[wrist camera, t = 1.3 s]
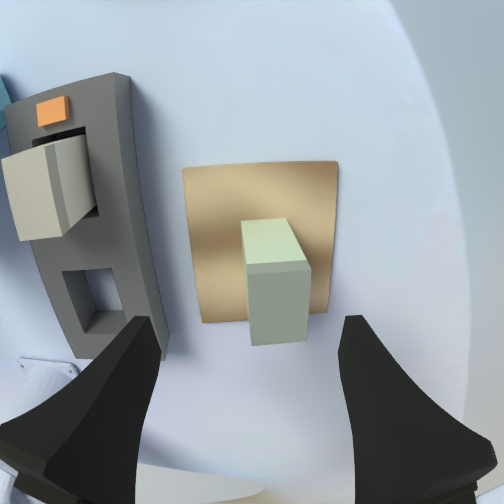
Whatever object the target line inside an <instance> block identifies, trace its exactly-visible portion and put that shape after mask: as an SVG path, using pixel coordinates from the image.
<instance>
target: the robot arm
mask: <svg viewBox="0 0 504 504" xmlns="http://www.w3.org/2000/svg"><path fill="white" fill-rule="evenodd" d="M161 354H162V351H161V348H160V345H159V343H158V340H157V337H156V334H155V331H154V328H153V326H152V323H151V320H150V317H149V316H134V317H133V318H132V319H131V320H130V321H129V322H128V324H127V325H126V326H125V327H124V328H123V329H122V330H121V331H120V332H119V333H118V335H117V336H116V337H115V338H114V339H113V340H112V341H111V342H110V343H109V344H108V345H107V347H106V348H105V349H104V350H103V351H102V352H101V353H100V354H99V355H98V356H97V357H96V358H95V359H94V360H93V361H92V362H91V363H90V364H89V365H88V366H87V367H86V368H85V369H84V370H83V371H82V372H81V373H80V374H78V373H77V371H76V369H75V367H74V365H72V364H71V363H63V362H52V361H42V360H32V359H24V358H18V360H17V362H18V364H19V366H20V368H21V369H22V371H23V372H24V374H25V376H26V379H25V381H24V383H23V385H22V387H21V389H20V391H19V393H18V395H17V397H16V399H15V402H14V404H13V406H12V408H11V410H10V412H9V415H8V417H7V419H6V421H5V423H3V424H1V425H0V504H135V483H136V469H137V460H138V451H139V444H140V438H141V432H142V427H143V423H144V419H145V416H146V413H147V409H148V406H149V403H150V399H151V396H152V393H153V390H154V386H155V383H156V380H157V376H158V372H159V366H160V360H161ZM338 359H339V369H340V377H341V382H342V386H343V391H344V396H345V400H346V405H347V409H348V414H349V419H350V423H351V429H352V435H353V447H354V463H355V504H504V483H503V484H501V485H499V486H497V487H495V488H493V489H491V490H489V491H487V492H485V493H483V494H481V495H479V496H477V497H475V494H474V491H476V490H477V488H478V487H477V482H476V481H477V480H479V479H480V478H482V477H483V476H485V475H486V474H487V473H489V472H490V471H491V470H493V469H494V468H495V467H496V466H497V464H498V463H497V459H496V455H495V452H494V449H493V446H492V444H491V442H490V441H489V440H487V439H486V438H484V437H482V436H481V435H479V434H477V433H476V432H474V431H472V430H470V429H469V428H467V427H466V426H464V425H463V424H462V423H460V422H459V421H457V420H456V419H455V418H453V417H452V416H451V415H450V414H448V413H447V412H446V411H445V410H443V409H442V408H441V407H440V406H439V405H437V404H436V403H435V402H434V401H433V400H432V399H431V398H430V397H428V396H427V395H426V394H425V393H424V392H423V391H422V390H421V389H420V388H419V387H418V386H417V385H416V384H415V382H414V381H413V380H412V379H411V378H410V377H409V376H408V375H407V374H406V372H405V371H404V370H403V369H402V368H401V367H400V365H399V364H398V363H397V362H396V360H395V359H394V358H393V357H392V355H391V354H390V353H389V352H388V350H387V349H386V348H385V346H384V345H383V344H382V342H381V341H380V340H379V338H378V337H377V335H376V334H375V333H374V331H373V330H372V328H371V327H370V325H369V324H368V323H367V321H366V320H365V318H364V317H363V316H362V315H353V316H345V321H344V326H343V331H342V336H341V340H340V345H339V349H338Z"/></svg>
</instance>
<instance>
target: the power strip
mask: <svg viewBox="0 0 504 504" xmlns="http://www.w3.org/2000/svg"><path fill="white" fill-rule="evenodd" d="M5 112H6V123H7V133H8V141H9V148H10V155H14V154H17V153H20V152H22V151H25V150H28V149H31V148H34V147H37V146H40V145H43V144H47V143H50V142H53V141H55V137H54V134H55V133H59V132H63V131H67V130H71V129H75V128H80V127H84V126H85V127H86V136H87V145H88V152H89V160H90V166H91V173H92V179H93V185H94V191H95V196H96V202H97V205H96V206H94V207H93V208H92V209H91V210H90V211H89V212H88V213H87V214H85V215H84V216H83V217H82V218H81V219H80V220H79V221H78V222H77V223H76V224H75V225H74V226H73V227H71V228H70V229H69V230H68V231H67V232H66V233H65V234H64V235H63V236H60V237H51V238H43V239H34V240H29V241H30V244H31V247H32V251H33V254H34V257H35V260H36V263H37V266H38V269H39V272H40V275H41V278H42V281H43V283H44V286H45V289H46V291H47V294H48V297H49V299H50V302H51V304H52V307H53V309H54V312H55V314H56V316H57V319H58V321H59V323H60V326H61V328H62V330H63V332H64V335H65V337H66V339H67V341H68V343H69V345H70V347H71V349H72V351H73V354H74V356H75V358H77V359H95V358H96V357H97V356H98V355H99V354H100V353H101V352H102V351H103V350H104V349H105V348H106V347H107V345H108V344H109V343H110V342H111V341H112V340H113V339H114V338H115V337H116V336H117V335H118V333H119V332H120V331H121V330H122V329H123V328H124V327H125V326H126V325H127V324H128V322H129V321H130V320H131V319H132V318H133V317H134V316H149V317H150V320H151V323H152V326H153V328H154V331H155V334H156V337H157V340H158V343H159V345H160V348H161V351H162V354H161V360H160V361H164V360H165V358H166V352H167V347H168V341H169V336H170V335H169V331H168V327H167V323H166V319H165V315H164V310H163V306H162V302H161V297H160V293H159V288H158V284H157V279H156V274H155V270H154V265H153V260H152V254H151V249H150V244H149V238H148V233H147V227H146V221H145V215H144V209H143V203H142V196H141V189H140V182H139V174H138V167H137V159H136V150H135V141H134V131H133V120H132V108H131V94H130V77H129V76H126V75H122V74H118V73H115V72H113V73H109V74H104V75H100V76H96V77H92V78H88V79H84V80H81V81H77V82H73V83H70V84H67V85H63V86H60V87H57V88H54V89H50V90H47V91H44V92H41V93H39V94H36V95H33V96H30V97H27V98H25V99H22V100H19V101H17V102H14V103H12V104H9V105H7V106H5ZM106 268H112V272H113V276H114V279H115V283H116V286H117V290H118V293H119V297H120V300H121V304H122V307H123V310H124V311H96V309H95V307H94V304H93V301H92V298H91V295H90V292H89V289H88V286H87V283H86V279H85V276H84V273H83V270H90V269H106Z"/></svg>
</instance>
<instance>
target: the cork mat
mask: <svg viewBox="0 0 504 504" xmlns="http://www.w3.org/2000/svg"><path fill="white" fill-rule="evenodd" d="M337 173H338V162H337V161H292V162H263V163H243V164H227V165H213V166H200V167H189V168H183V169H182V174H183V184H184V194H185V203H186V212H187V220H188V228H189V236H190V244H191V251H192V259H193V266H194V273H195V280H196V287H197V293H198V300H199V306H200V312H201V318H202V323H211V322H227V321H241V320H249V318H248V309H247V301H246V292H245V283H244V269H243V252H242V234H241V221H246V220H262V219H279V218H286V220H287V221H288V223H289V225H290V227H291V229H292V231H293V233H294V235H295V237H296V239H297V241H298V243H299V245H300V247H301V249H302V251H303V253H304V255H305V257H306V259H307V261H308V263H309V265H310V267H311V286H310V300H309V314H317V313H326V312H327V307H328V298H329V288H330V278H331V268H332V257H333V244H334V231H335V215H336V197H337Z"/></svg>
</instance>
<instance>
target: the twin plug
mask: <svg viewBox="0 0 504 504" xmlns="http://www.w3.org/2000/svg"><path fill="white" fill-rule="evenodd" d="M1 163H2V169H3V174H4V180H5V185H6V189H7V194H8V199H9V203H10V207H11V211H12V215H13V219H14V223H15V227H16V230H17V234H18V237H19V241H26V240H34V239H43V238H51V237H60V236H63V235H64V234H65V233H66V232H67V231H68V230H69V229H70V228H71V227H73V226H74V225H75V224H76V223H77V222H78V221H79V220H80V219H81V218H82V217H83V216H84V215H85V214H87V213H88V212H89V211H90V210H91V209H92V208H93V207H94V206H96V205H97V202H96V196H95V191H94V185H93V179H92V173H91V166H90V160H89V152H88V145H87V136H86V133H85V134H81V135H76V136H72V137H68V138H64V139H60V140H56V141H53V142H50V143H47V144H43V145H40V146H37V147H34V148H31V149H28V150H25V151H22V152H20V153H17V154H14V155H11V156H9V157H6V158H3V159H1Z"/></svg>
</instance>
